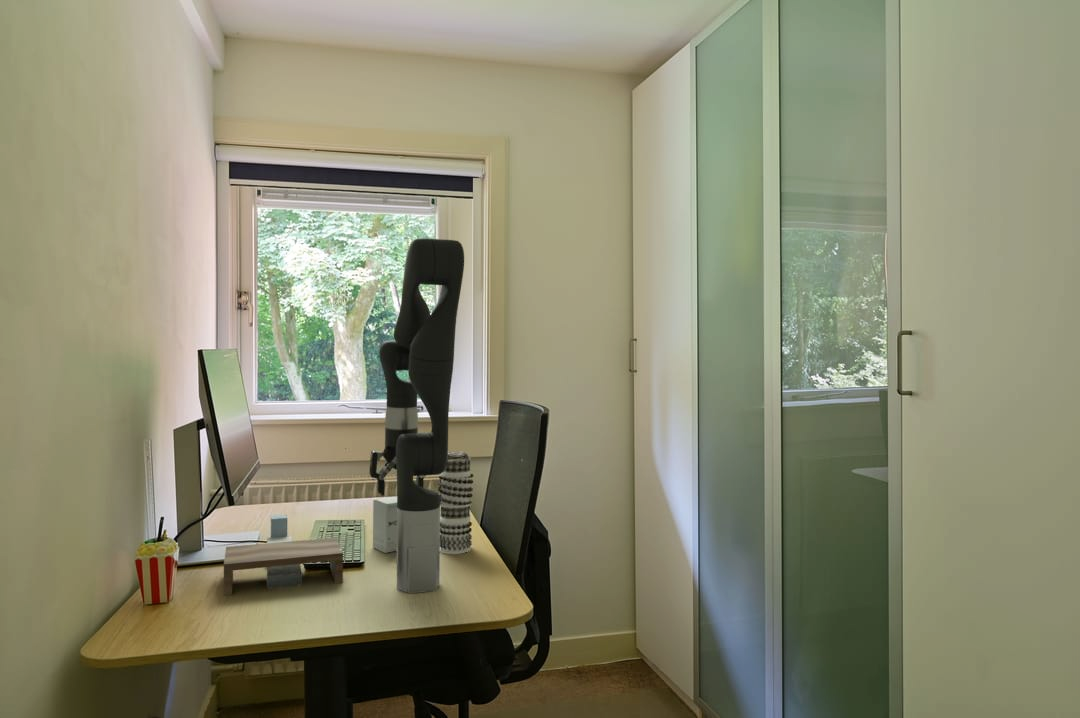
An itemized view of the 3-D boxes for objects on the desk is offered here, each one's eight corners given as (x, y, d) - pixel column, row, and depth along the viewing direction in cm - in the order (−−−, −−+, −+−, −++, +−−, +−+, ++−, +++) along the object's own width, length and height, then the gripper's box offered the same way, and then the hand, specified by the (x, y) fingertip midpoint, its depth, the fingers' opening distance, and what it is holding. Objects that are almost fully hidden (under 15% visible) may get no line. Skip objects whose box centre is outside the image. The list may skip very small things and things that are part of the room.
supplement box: (385, 553, 180) (385, 503, 180) (372, 547, 186) (372, 498, 186) (411, 548, 185) (411, 500, 185) (397, 542, 191) (397, 495, 191)
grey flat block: (301, 586, 156) (301, 572, 156) (267, 590, 153) (267, 576, 153) (299, 577, 162) (300, 563, 162) (266, 580, 160) (266, 566, 160)
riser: (342, 582, 158) (342, 553, 158) (223, 595, 149) (223, 564, 149) (335, 564, 171) (336, 537, 171) (226, 575, 162) (226, 546, 162)
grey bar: (266, 542, 190) (266, 516, 190) (290, 540, 192) (290, 514, 192) (268, 568, 168) (268, 538, 168) (295, 565, 170) (295, 536, 170)
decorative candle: (476, 553, 181) (477, 454, 181) (439, 555, 179) (440, 455, 179) (469, 543, 190) (470, 449, 190) (434, 546, 188) (435, 450, 187)
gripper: (373, 429, 162) (372, 499, 163) (435, 427, 167) (433, 495, 168) (368, 424, 169) (367, 492, 170) (427, 422, 174) (426, 488, 175)
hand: (400, 493), depth 169 cm, fingers open, 8 cm apart
